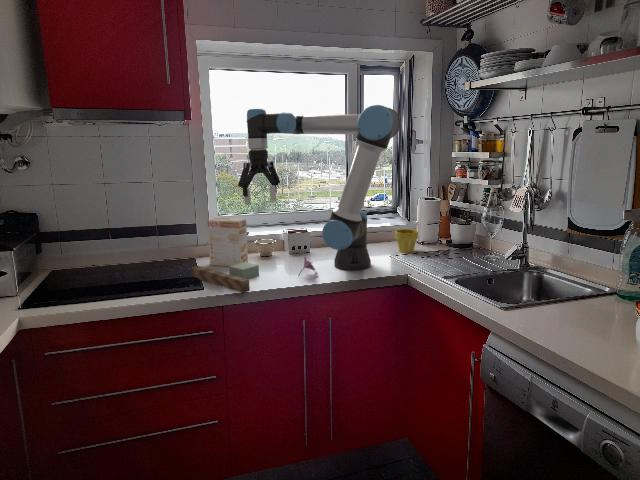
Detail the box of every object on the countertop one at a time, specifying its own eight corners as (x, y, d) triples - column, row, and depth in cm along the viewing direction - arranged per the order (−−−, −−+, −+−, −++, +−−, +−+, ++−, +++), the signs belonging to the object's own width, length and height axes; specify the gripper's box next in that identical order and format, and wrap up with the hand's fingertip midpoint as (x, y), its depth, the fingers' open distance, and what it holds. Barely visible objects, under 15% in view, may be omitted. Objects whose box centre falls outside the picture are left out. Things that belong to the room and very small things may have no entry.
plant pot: (400, 254, 204) (401, 233, 202) (391, 249, 214) (391, 229, 212) (421, 253, 207) (422, 232, 205) (411, 248, 217) (412, 228, 215)
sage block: (259, 276, 174) (258, 265, 173) (243, 281, 168) (242, 269, 167) (245, 272, 179) (244, 261, 178) (229, 277, 173) (228, 266, 172)
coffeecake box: (248, 263, 192) (246, 218, 188) (240, 267, 185) (237, 221, 181) (219, 260, 197) (216, 217, 193) (209, 264, 191) (206, 219, 187)
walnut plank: (249, 290, 156) (249, 279, 155) (242, 292, 154) (242, 281, 153) (198, 275, 175) (197, 265, 174) (191, 277, 173) (190, 267, 172)
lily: (311, 284, 166) (323, 261, 166) (284, 270, 168) (295, 247, 168) (318, 284, 177) (328, 263, 177) (292, 271, 180) (303, 250, 180)
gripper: (274, 149, 190) (277, 199, 194) (226, 150, 171) (230, 205, 176) (287, 148, 185) (289, 200, 189) (239, 150, 166) (242, 206, 171)
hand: (260, 203), depth 182 cm, fingers open, 13 cm apart
